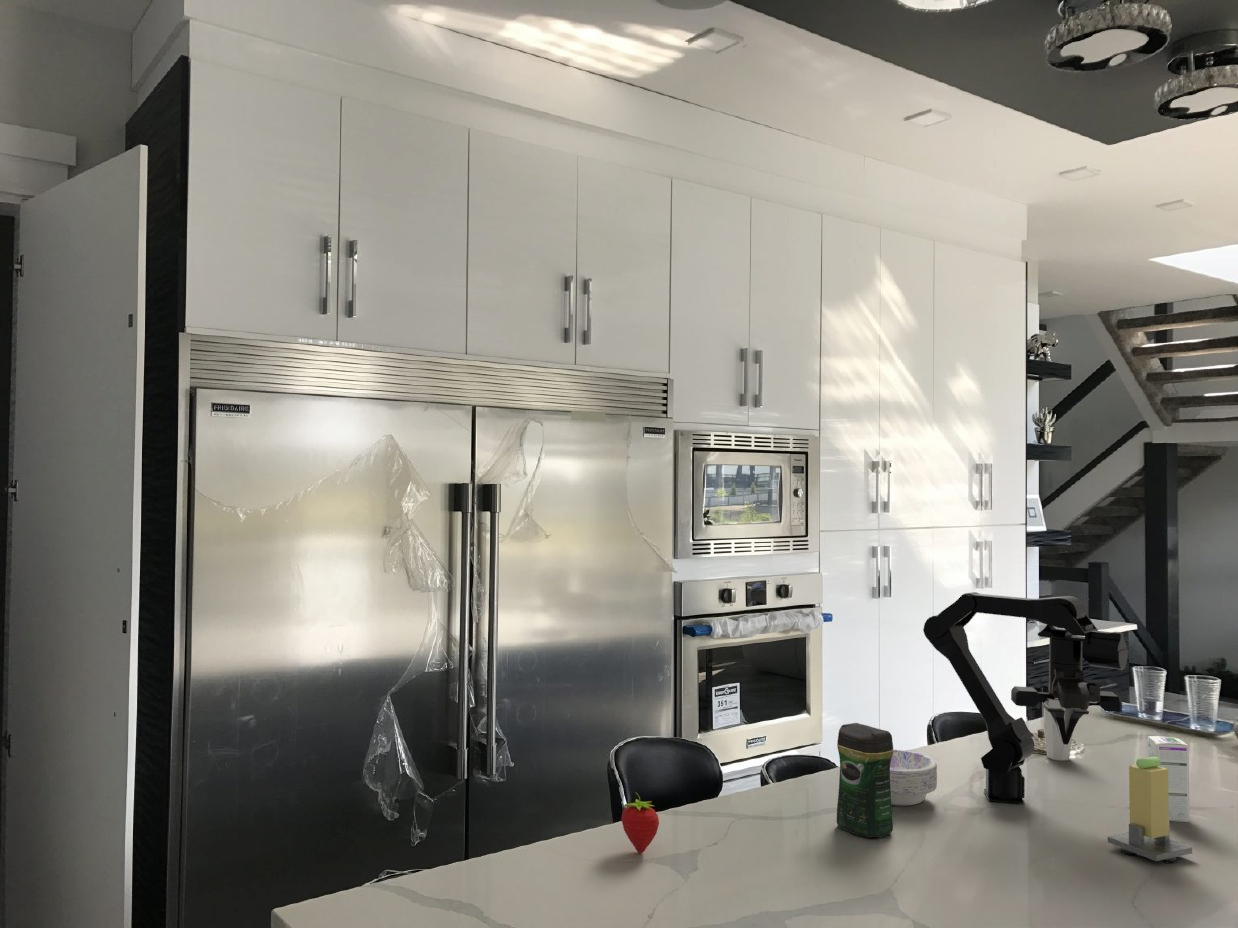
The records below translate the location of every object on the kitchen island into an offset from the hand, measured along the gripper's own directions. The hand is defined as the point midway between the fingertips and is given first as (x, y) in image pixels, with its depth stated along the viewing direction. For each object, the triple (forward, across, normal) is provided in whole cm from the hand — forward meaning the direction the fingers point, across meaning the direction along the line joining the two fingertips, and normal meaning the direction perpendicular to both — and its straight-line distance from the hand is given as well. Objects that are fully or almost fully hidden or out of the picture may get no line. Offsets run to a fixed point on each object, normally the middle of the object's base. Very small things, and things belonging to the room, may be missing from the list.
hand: (1065, 743), depth 183 cm
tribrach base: (+13, +9, -19) cm, 25 cm away
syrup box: (+13, +19, +3) cm, 23 cm away
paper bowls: (+13, -31, 0) cm, 34 cm away
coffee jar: (+13, -38, -20) cm, 45 cm away
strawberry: (+13, -75, -41) cm, 86 cm away
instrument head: (+9, +9, -19) cm, 23 cm away
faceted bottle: (+13, +8, +41) cm, 44 cm away
